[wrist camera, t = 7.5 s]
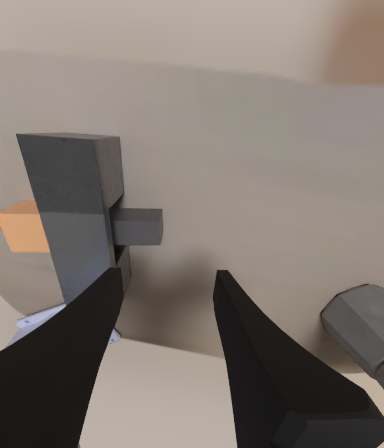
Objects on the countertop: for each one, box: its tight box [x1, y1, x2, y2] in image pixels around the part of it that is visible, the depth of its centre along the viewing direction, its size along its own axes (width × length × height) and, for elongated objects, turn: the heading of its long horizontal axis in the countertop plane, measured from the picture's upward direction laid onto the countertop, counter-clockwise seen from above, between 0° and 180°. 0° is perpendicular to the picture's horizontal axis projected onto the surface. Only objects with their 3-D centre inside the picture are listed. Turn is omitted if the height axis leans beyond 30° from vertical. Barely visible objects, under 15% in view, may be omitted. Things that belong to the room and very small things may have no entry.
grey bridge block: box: [16, 133, 131, 306], centre depth 16 cm, size 4×14×5 cm, turn 176°
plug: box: [0, 201, 163, 252], centre depth 17 cm, size 12×3×3 cm, turn 88°
